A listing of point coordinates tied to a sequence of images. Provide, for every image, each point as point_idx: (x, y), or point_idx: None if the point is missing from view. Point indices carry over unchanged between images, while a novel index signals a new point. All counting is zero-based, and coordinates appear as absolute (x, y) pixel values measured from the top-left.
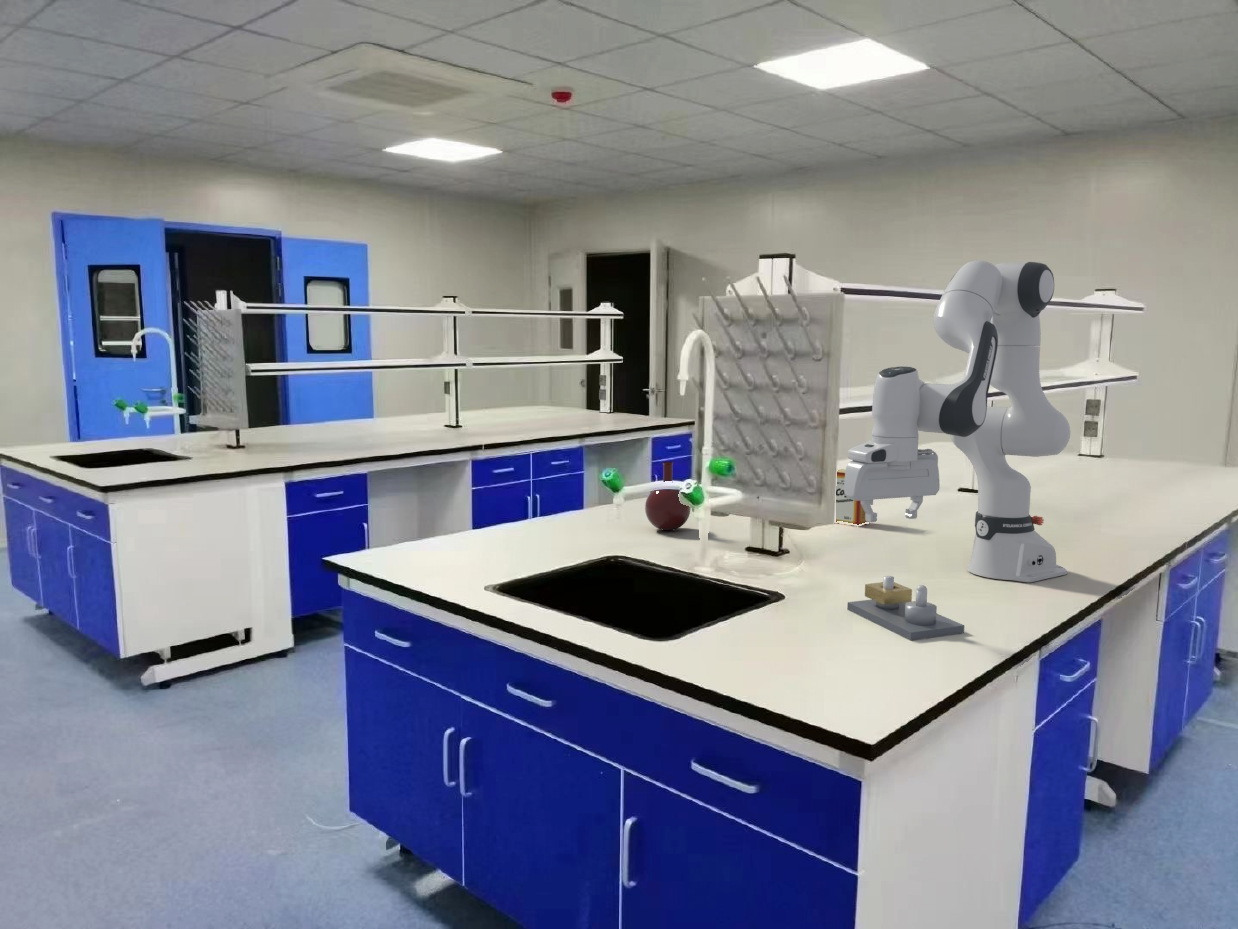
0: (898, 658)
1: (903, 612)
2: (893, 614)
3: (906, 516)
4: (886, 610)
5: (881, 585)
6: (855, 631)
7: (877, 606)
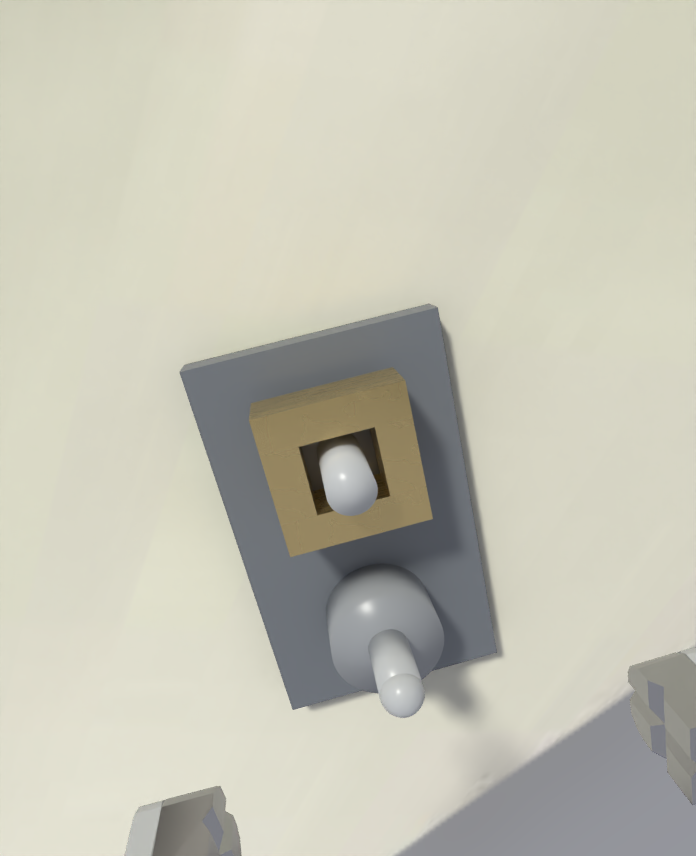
0: None
1: None
2: None
3: (636, 685)
4: None
5: (325, 438)
6: (139, 609)
7: None
